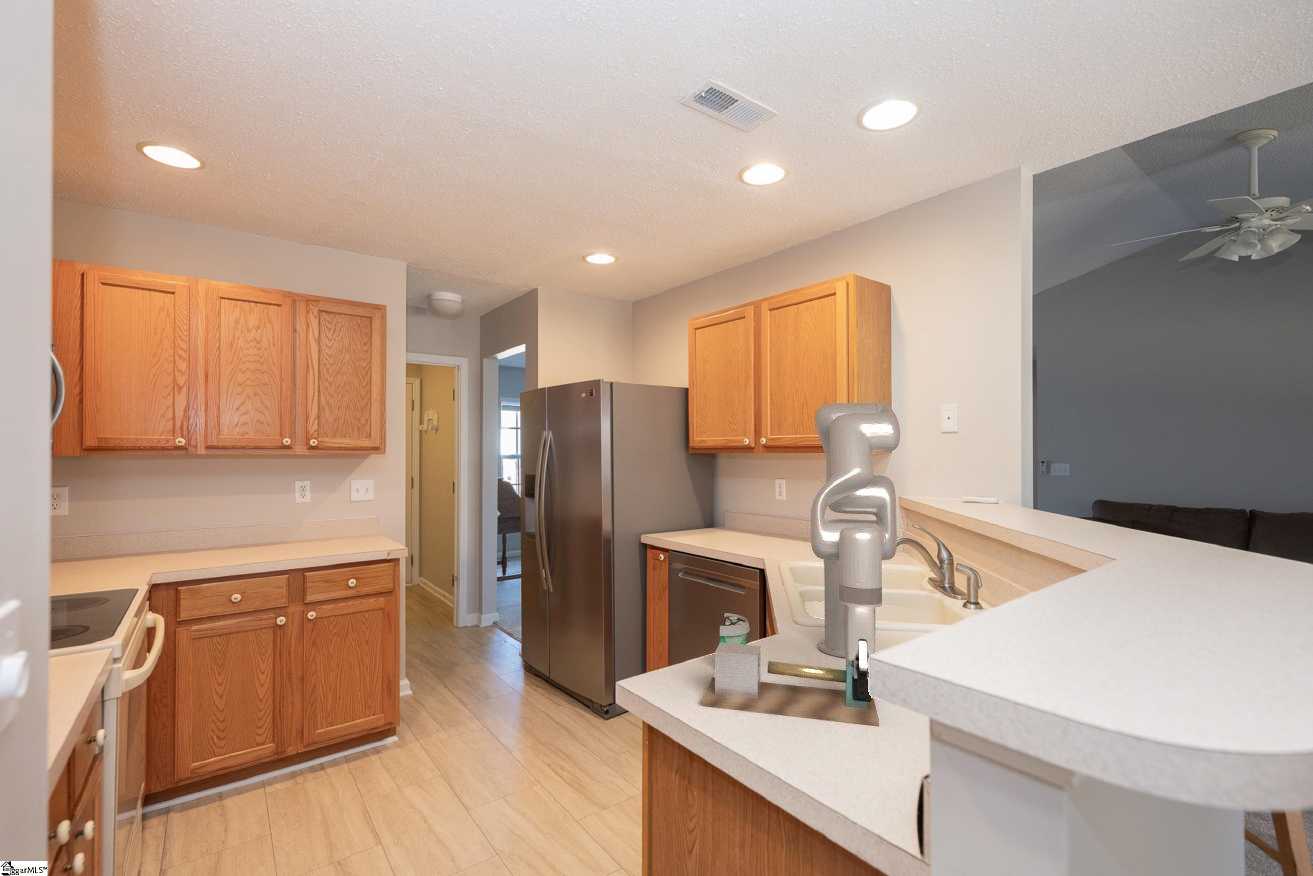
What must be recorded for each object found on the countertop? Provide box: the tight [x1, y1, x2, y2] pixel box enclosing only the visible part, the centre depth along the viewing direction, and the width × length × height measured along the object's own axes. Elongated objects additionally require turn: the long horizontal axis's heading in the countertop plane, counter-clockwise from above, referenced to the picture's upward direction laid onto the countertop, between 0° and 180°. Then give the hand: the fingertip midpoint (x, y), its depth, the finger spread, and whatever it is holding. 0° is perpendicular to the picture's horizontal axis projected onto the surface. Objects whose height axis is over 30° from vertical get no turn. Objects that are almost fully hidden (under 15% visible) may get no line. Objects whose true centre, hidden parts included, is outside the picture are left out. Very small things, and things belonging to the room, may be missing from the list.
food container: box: [719, 612, 751, 645], centre depth 133 cm, size 12×6×10 cm, turn 168°
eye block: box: [714, 642, 761, 699], centre depth 114 cm, size 8×6×8 cm
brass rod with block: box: [767, 659, 867, 708], centre depth 110 cm, size 18×4×7 cm, turn 75°
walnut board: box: [701, 676, 880, 727], centre depth 112 cm, size 31×12×1 cm, turn 75°
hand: (860, 695), depth 108 cm, fingers closed on brass rod with block, 3 cm apart
